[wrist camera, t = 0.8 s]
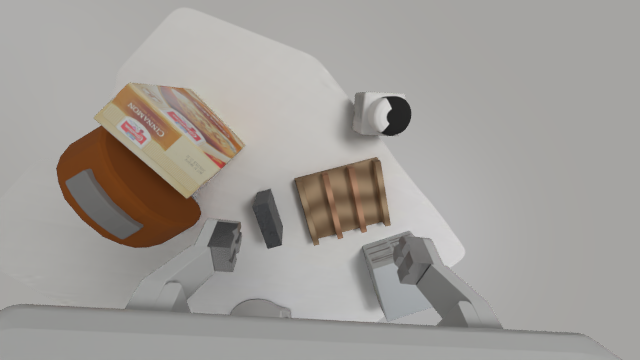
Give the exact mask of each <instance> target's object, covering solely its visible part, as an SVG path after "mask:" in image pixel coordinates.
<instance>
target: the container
mask: <svg viewBox="0 0 640 360" xmlns="http://www.w3.org/2000/svg"><path fill="white" fill-rule="evenodd" d="M410 119H411V109H410V106H409V104H408V103H407V101H406V100H405V94H395V93H378V92H360V93H356V94H355V104H354V116H353V128H352V129H353V130H354V131H356V132H358V133H360V134H362V135H383V136H399V135H400V133H401V132H403V131H404V130H405V129H406V128H407V126H408V124H409V122H410Z"/></svg>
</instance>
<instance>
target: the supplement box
mask: <svg viewBox="0 0 640 360" xmlns="http://www.w3.org/2000/svg"><path fill="white" fill-rule="evenodd" d="M401 236H409V237H415V236H414V235H413V234H412V233H411V232H410V231H408V232H405V233H402V234H399V235H395V236H392V237H389V238H386V239H383V240H380V241H376V242H373V243H370V244H367V245H364V246H362V247H363V251H364V254H365V258H366V261H367V265H368V268H369V272H370V275H371V279H372V282H373V286H374V289H375V292H376V295H377V298H378V301H379V303H380V306H381V308H382V311H383V313H384V315H385V317H386V319H387V321H392V320H395V319H398V318H401V317H404V316H406V315H410V314H413V313H416V312H419V311H422V310H425V309H428V308H431V307H433V306H432V305H431V304H430V302H429V301H428V300H427V299H426V298H425V296H424V295H423V294H422V293H421V291H420V290H419V289H418V288H417V287H416V285H410V284H400V281H399V277H398V274H397V270H398V267H397V266H396V265H395V264H394V260H393V250H394V248H395V246H396V245H398V244H399V241H398V240H399V238H400V237H401Z"/></svg>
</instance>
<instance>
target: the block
mask: <svg viewBox="0 0 640 360" xmlns="http://www.w3.org/2000/svg"><path fill="white" fill-rule="evenodd" d="M253 209H254V212H255V215H256V218H257V220H258V223H259V226H260V229H261V232H262V234H263V237H264V240H265V243H266V245H267V248H268V249H269V248H273V247H276V246H280V245H282V233H283V225H282V222H281V219H280V216H279V213H278V210H277V207H276V204H275V201H274V198H273V195H272V191H271V189H269V190H265V191H261V192H258V193H257V196H256V199H255V201H254V204H253Z"/></svg>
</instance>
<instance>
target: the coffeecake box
mask: <svg viewBox="0 0 640 360" xmlns="http://www.w3.org/2000/svg"><path fill="white" fill-rule="evenodd" d="M94 119H95V120H96V121H97V122H98V123H100V124H101V125H102V126H103V127H104V128H105V129H106V130H108V131H109V132H110V133H111V134H112V135H113V136H114V137H116V138H117V139H118V140H119V141H120V142H121V143H123V144H124V145H125V146H126V147H127V148H128V149H129V150H131V151H132V152H133V153H134V154H135V155H137V156H138V157H139V158H140V159H141V160H142V161H144V162H145V163H146V164H147V165H148V166H149V167H151V168H152V169H153V170H154V171H155V172H156V173H157V174H159V175H160V176H161V177H162V178H163V179H164V180H166V181H167V182H168V183H169V184H170V185H171V186H172V187H174V188H175V189H176V190H177V191H178V192H179V193H181V194H182V195H183V196H184V197H185V198H186V199H187V198H189V197H190V196H191V195H192V194H194V193H195V192H196V191H197V190H198V189H199V188H201V187H202V186H203V185H204V184H205V183H206V182H207V181H209V180H210V179H211V178H212V177H213V176H214V175H215V174H216V173H217V172H218V171H220V170H221V169H222V168H223V167H224V166H225V165H226V164H227V163H228V162H229V161H230V160H231V159H232V158H233V157H234V156H235V155H236V154H237V153H238V152H239V151H240V150H241V149H242V148H243V147H244V146H245V144H244V143H243V142H242V141H241V140H240V139H239V138H238V137H237V136H236V135H235V134H234V133H233V132H232V131H231V130H230V129H229V128H228V127H227V126H226V125H225V124H224V123H223V121H222V120H221V119H220V118H219V117H218V116H217V115H216V114H215V113H214V112H213V111H212V110H211V109H210V108H209V107H208V106H207V105H206V104H205V103H204V102H203V101H202V100H201V99H200V98H199V97H198V96H197V95H196V94H195V93H194V92H193V91H192V90H191V89H185V88H175V87H166V86H157V85H147V84H138V83H131V82H130V83H128V84H127V85H126V86H125V87H124V88H123V89H122V90H121V91H120V92H119V93H118V94H117V95H116V96H115V97H114V98H113V99H112V100H111V101H110V102H109V103H108V104H107V105H106V106H105V107H104V108H103V109H102V110H101V111H100V112H99V113H98V114H97V115H96V116H95V117H94Z"/></svg>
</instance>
